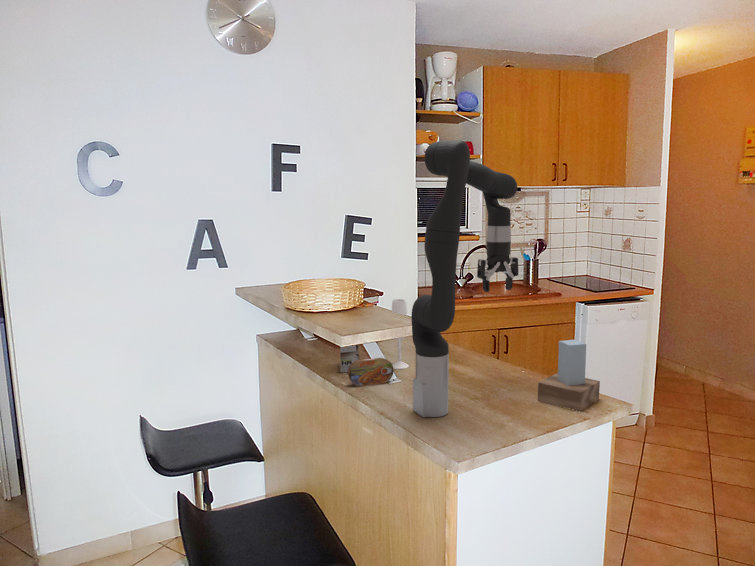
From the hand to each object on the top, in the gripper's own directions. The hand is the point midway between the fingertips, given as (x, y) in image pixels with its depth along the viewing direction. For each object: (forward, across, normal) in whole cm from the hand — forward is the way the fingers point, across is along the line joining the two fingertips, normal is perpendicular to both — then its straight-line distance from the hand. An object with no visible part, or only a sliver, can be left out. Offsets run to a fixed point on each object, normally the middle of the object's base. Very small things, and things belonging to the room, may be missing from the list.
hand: (497, 290), depth 183 cm
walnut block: (+30, +9, -24) cm, 40 cm away
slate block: (+24, +9, -24) cm, 36 cm away
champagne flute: (+30, -21, +29) cm, 47 cm away
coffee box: (+30, -38, +34) cm, 59 cm away
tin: (+30, -38, +16) cm, 51 cm away
